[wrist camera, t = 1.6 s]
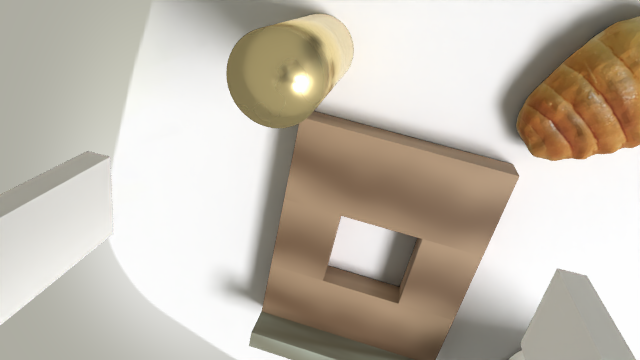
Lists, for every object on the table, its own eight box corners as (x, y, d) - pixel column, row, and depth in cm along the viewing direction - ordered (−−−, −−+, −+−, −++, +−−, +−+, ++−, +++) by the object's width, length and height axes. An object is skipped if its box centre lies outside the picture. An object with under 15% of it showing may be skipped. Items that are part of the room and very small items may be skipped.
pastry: (545, 177, 29) (562, 202, 25) (491, 93, 27) (502, 108, 24) (705, 94, 25) (751, 111, 22) (652, -7, 24) (691, -7, 20)
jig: (307, 109, 30) (290, 127, 26) (512, 164, 29) (528, 192, 25) (266, 308, 38) (249, 345, 34) (426, 358, 36) (427, 403, 32)
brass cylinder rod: (293, 6, 27) (232, 15, 18) (361, 22, 27) (333, 41, 18) (281, 75, 29) (221, 114, 20) (344, 91, 29) (312, 139, 20)
